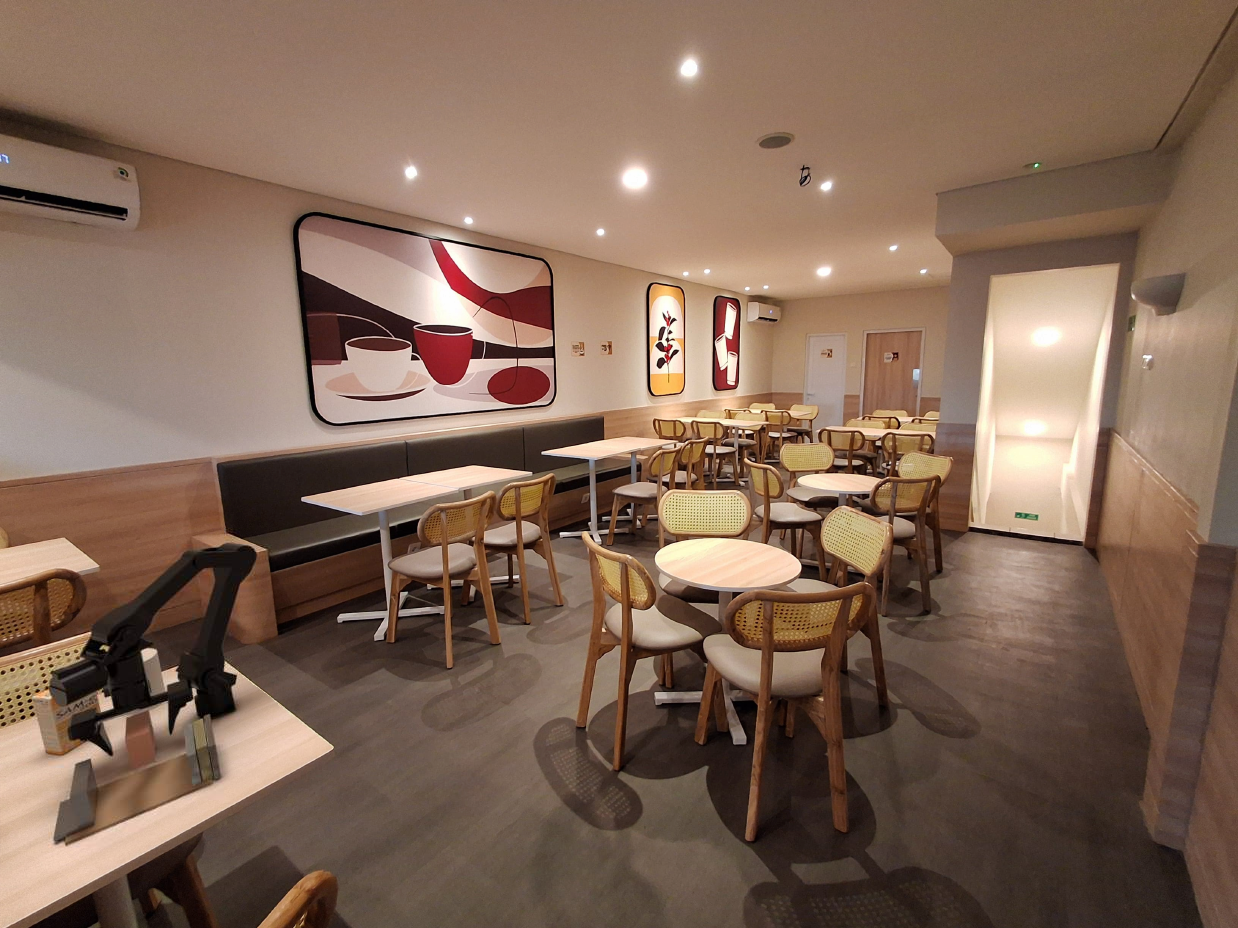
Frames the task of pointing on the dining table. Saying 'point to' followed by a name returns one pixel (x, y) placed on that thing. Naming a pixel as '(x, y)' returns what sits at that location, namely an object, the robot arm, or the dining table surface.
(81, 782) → the bookend
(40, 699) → the supplement box
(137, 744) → the terracotta rectangular block
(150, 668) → the cup
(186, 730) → the shelf
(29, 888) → the dining table surface
